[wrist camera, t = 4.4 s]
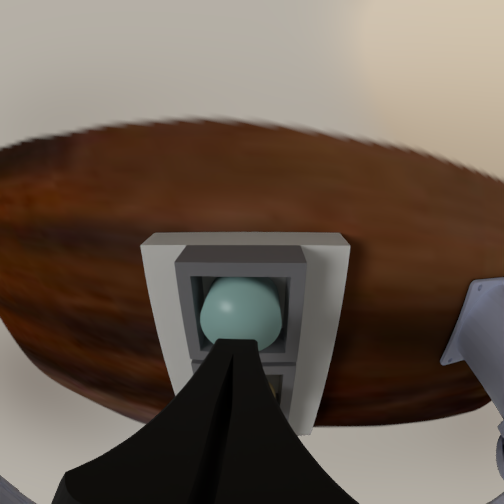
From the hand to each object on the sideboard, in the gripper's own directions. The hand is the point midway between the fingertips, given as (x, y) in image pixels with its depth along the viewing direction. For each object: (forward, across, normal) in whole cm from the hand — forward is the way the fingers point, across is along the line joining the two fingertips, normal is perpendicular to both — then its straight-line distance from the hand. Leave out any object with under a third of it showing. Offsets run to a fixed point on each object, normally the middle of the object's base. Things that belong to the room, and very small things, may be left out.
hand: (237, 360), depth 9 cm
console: (+7, 0, +6) cm, 9 cm away
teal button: (+4, 0, 0) cm, 4 cm away
